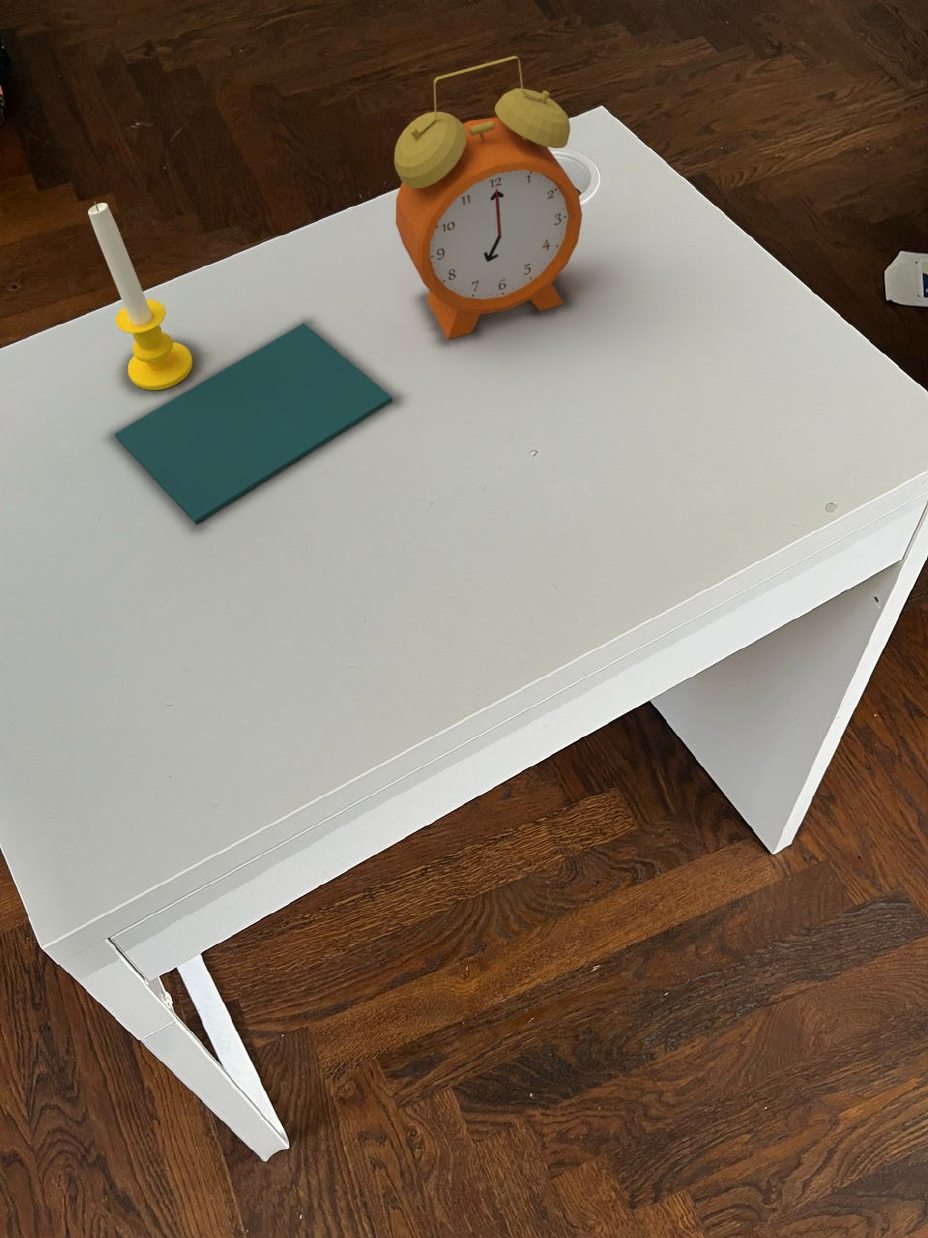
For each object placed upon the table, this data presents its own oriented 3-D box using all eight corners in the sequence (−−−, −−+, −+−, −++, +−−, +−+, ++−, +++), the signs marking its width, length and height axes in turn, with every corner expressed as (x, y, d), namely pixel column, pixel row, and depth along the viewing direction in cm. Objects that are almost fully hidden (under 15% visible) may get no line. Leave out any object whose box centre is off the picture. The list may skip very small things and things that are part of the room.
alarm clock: (431, 349, 92) (398, 117, 75) (407, 303, 95) (371, 71, 79) (585, 302, 93) (585, 65, 77) (556, 258, 97) (551, 22, 80)
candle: (116, 374, 93) (42, 208, 80) (163, 337, 95) (98, 170, 83) (159, 399, 91) (90, 232, 78) (206, 361, 93) (146, 193, 80)
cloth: (195, 524, 83) (194, 520, 83) (115, 437, 89) (113, 433, 89) (392, 400, 89) (391, 396, 88) (304, 326, 95) (303, 322, 94)
